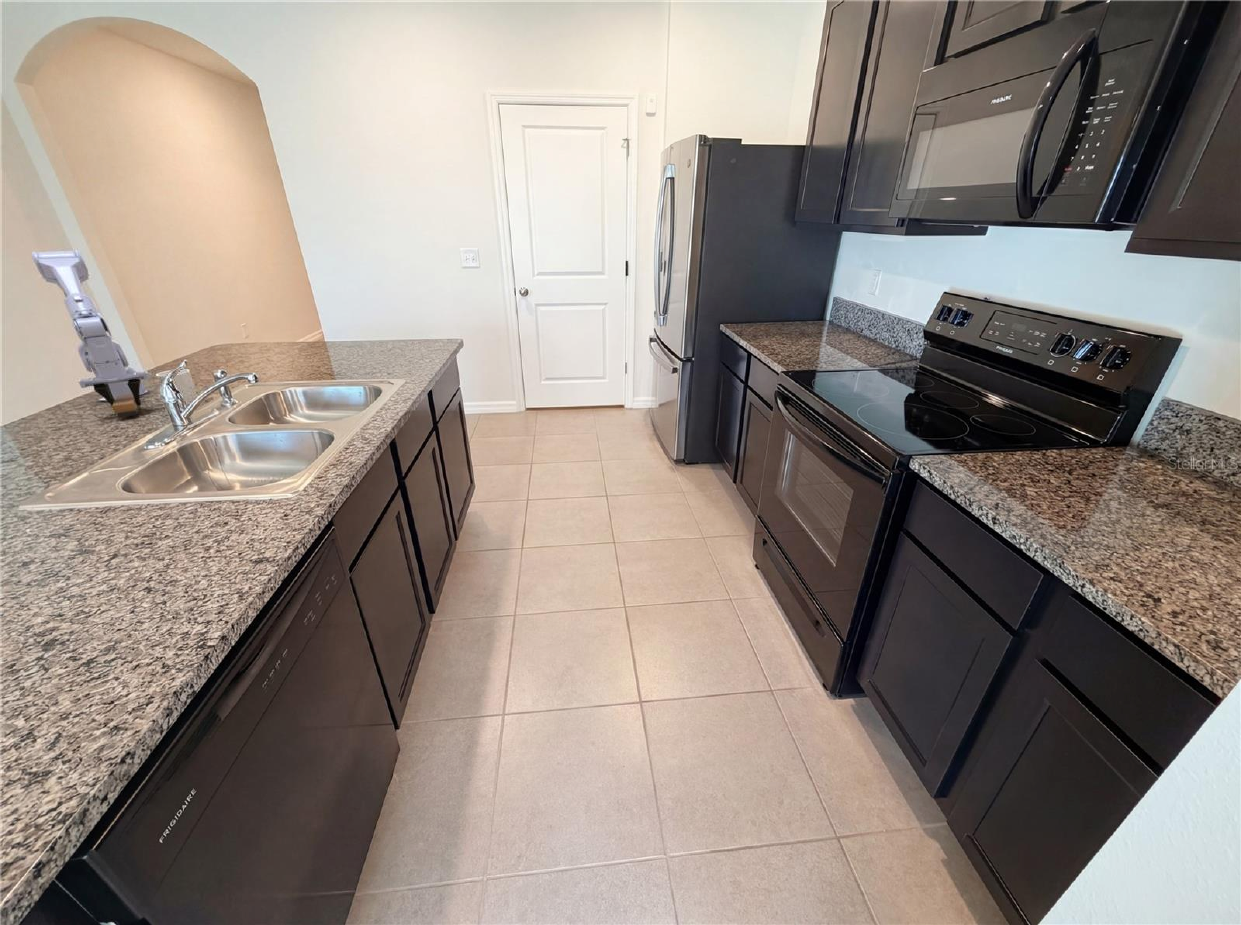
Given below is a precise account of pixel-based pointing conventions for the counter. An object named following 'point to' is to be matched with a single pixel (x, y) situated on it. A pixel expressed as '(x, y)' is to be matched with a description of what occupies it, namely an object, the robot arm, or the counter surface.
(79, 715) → the counter surface
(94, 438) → the counter surface
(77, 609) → the counter surface
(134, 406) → the scrub brush
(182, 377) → the white cup
